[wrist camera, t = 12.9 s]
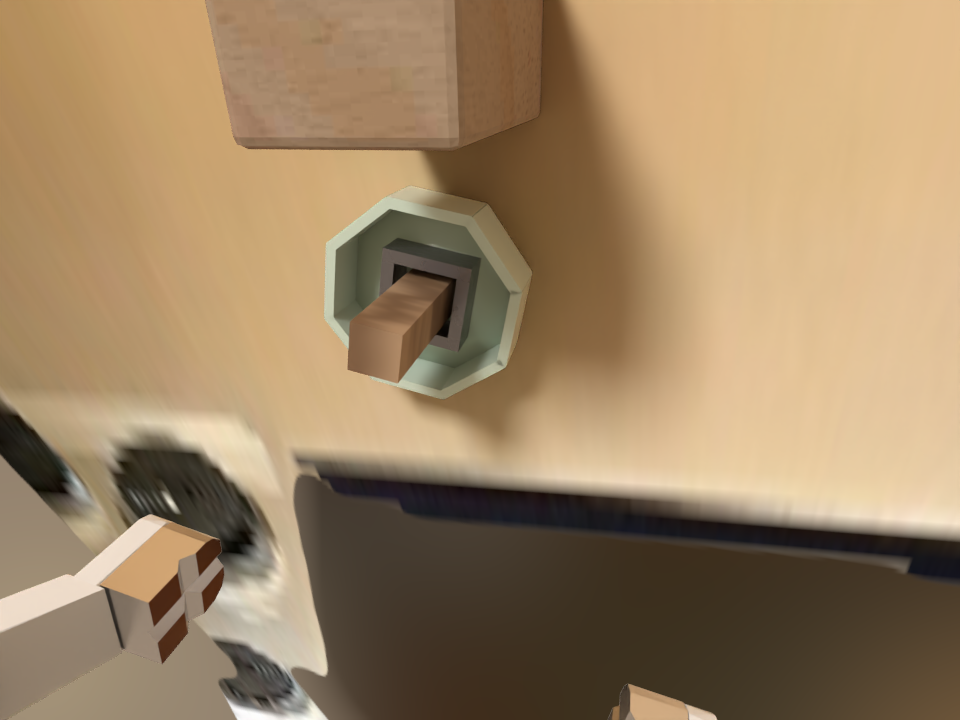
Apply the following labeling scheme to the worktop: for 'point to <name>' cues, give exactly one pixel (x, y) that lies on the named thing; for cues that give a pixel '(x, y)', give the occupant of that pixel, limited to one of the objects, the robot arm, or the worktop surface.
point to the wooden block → (377, 71)
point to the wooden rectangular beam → (400, 325)
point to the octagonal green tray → (423, 222)
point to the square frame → (441, 263)
